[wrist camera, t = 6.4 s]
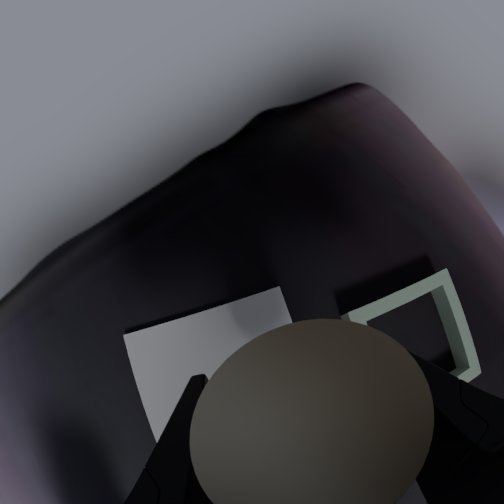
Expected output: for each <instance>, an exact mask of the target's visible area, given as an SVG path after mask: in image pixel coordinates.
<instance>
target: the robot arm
mask: <svg viewBox="0 0 504 504" xmlns="http://www.w3.org/2000/svg"><path fill="white" fill-rule="evenodd" d="M407 351H408V350H407ZM408 352H409V354H410V355H411V356H412V357H413V358H414V359H415V361H416V362H417V364H418V365H419V367H420V368H421V370H422V371H423V374H424V376H425V378H426V380H427V382H428V385H429V388H430V392H431V395H432V400H433V407H434V428H433V436H432V441H431V445H430V448H429V452H428V455H427V457H426V460H425V462H424V464H423V467H422V468H421V470H420V472H419V474H418V476H417V477H416V481H417V483H418V485H419V487H420V489H421V491H422V493H423V495H424V497H425V499H426V501H427V503H428V504H504V399H502V398H500V397H497V396H495V395H493V394H490V393H488V392H485V391H483V390H481V389H479V388H477V387H475V386H473V385H471V384H469V383H467V382H465V381H464V380H462V379H460V380H459V378H458V377H456V376H454V375H452V374H450V373H449V372H447V371H445V370H443V369H441V368H439V367H438V366H436V365H434V364H432V363H430V362H428V361H426V360H425V359H423V358H421V357H419V356H417V355H415V354H414V353H412V352H410V351H408ZM208 381H209V380H208V378H207V376H206V375H205V374H198V375H193V376H192V377H191V378H190V380H189V382H188V383H187V385H186V387H185V389H184V391H183V393H182V395H181V397H180V399H179V401H178V403H177V405H176V407H175V409H174V411H173V413H172V415H171V417H170V419H169V421H168V423H167V424H166V426H165V428H164V430H163V432H162V434H161V436H160V438H159V440H158V442H157V444H156V446H155V448H154V450H153V452H152V454H151V456H150V458H149V460H148V462H147V463H146V465H145V468H144V469H143V471H142V473H141V475H140V477H139V479H138V481H137V482H136V484H135V486H134V488H133V489H132V491H131V493H130V494H129V496H128V497H127V499H126V501H125V502H124V504H213V503H212V501H211V500H210V499H209V498H208V496H207V495H206V493H205V492H204V490H203V489H202V487H201V485H200V483H199V481H198V479H197V476H196V474H195V471H194V467H193V464H192V460H191V453H190V428H191V422H192V417H193V413H194V410H195V407H196V405H197V402H198V399H199V397H200V395H201V393H202V391H203V389H204V387H205V386H206V384H207V382H208Z"/></svg>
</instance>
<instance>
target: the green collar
mask: <svg viewBox="0 0 504 504" xmlns="http://www.w3.org/2000/svg"><path fill="white" fill-rule="evenodd" d="M429 291H431V294H432V296H433V299H434V301H435V304H436V307H437V310H438V312H439V315H440V318H441V321H442V324H443V327H444V330H445V333H446V336H447V339H448V342H449V345H450V348H451V352H452V355H453V358H454V362H455V365H456V369H454V370H452V371H451V372H449V373H450V374H452V375H454V376H456V377H458V378H459V380H460V379H462V380H464V381H465V382H467V383H468V382H469V381H471V380H472V379H474V378H475V377H476V376H478V375H479V374H480V373H481V369H480V366H479V362H478V358H477V354H476V351H475V347H474V344H473V340H472V337H471V334H470V331H469V328H468V324H467V321H466V318H465V315H464V313H463V310H462V307H461V304H460V301H459V298H458V296H457V293H456V290H455V288H454V285H453V283H452V280H451V278H450V275H449V273H448V270H447V268H446V269H444V270H442V271H440V272H438V273H436V274H434V275H432V276H430V277H428V278H426V279H423V280H421V281H419V282H417V283H415V284H413V285H411V286H409V287H406V288H404V289H402V290H400V291H398V292H395V293H393V294H391V295H389V296H386V297H384V298H382V299H379V300H377V301H375V302H372V303H370V304H368V305H365V306H363V307H361V308H358V309H356V310H353V311H351V312H348V313H346V314H344V315H342V316H340V317H341V319H342V320H347V321H353V322H357V323H360V324H364V325H367V323H366V321H367V320H370V319H372V318H374V317H376V316H379V315H381V314H383V313H385V312H388V311H390V310H392V309H394V308H396V307H398V306H401V305H403V304H405V303H407V302H409V301H411V300H413V299H415V298H417V297H419V296H421V295H423V294H425V293H427V292H429ZM367 326H368V325H367Z"/></svg>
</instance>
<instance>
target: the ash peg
mask: <svg viewBox="0 0 504 504" xmlns="http://www.w3.org/2000/svg"><path fill="white" fill-rule="evenodd" d="M433 428H434V407H433V400H432V395H431V392H430V388H429V385H428V382H427V380H426V378H425V376H424V374H423V371H422V370H421V368H420V367H419V365H418V364H417V362H416V361H415V359H414V358H413V357H412V356H411V355H410V354H409V352H408V351H407V350H406V349H405V348H404V347H403V346H401V345H400V344H399V343H398V342H397V341H395V340H394V339H393V338H391V337H389V336H388V335H386V334H384V333H383V332H381V331H379V330H376V329H374V328H372V327H370V326H367V325H364V324H360V323H357V322H353V321H347V320H340V319H313V320H303V321H299V322H295V323H290V324H286V325H283V326H281V327H278V328H275V329H272V330H270V331H268V332H266V333H264V334H262V335H260V336H258V337H256V338H254V339H252V340H251V341H249V342H248V343H246V344H245V345H243V346H242V347H240V348H239V349H238V350H237V351H235V352H234V353H233V354H232V355H231V356H230V357H228V358H227V359H226V360H225V361H224V362H223V364H222V365H221V366H220V367H219V368H218V369H217V370H216V371H215V373H214V374H213V375H212V377H211V378H210V380H209V381H208V382H207V384H206V386H205V387H204V389H203V391H202V393H201V395H200V397H199V399H198V402H197V405H196V407H195V410H194V413H193V417H192V422H191V428H190V453H191V460H192V464H193V467H194V471H195V474H196V476H197V479H198V481H199V483H200V485H201V487H202V489H203V490H204V492H205V493H206V495H207V496H208V498H209V499H210V500H211V501H212V503H213V504H395V503H396V502H397V501H398V500H399V499H400V498H401V497H402V496H403V495H404V493H405V492H406V491H407V490H408V489H409V487H410V486H411V485H412V483H413V482H414V480H415V479H416V477H417V476H418V474H419V472H420V470H421V468H422V467H423V464H424V462H425V460H426V457H427V455H428V452H429V448H430V445H431V441H432V436H433Z"/></svg>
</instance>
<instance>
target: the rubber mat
mask: <svg viewBox="0 0 504 504" xmlns="http://www.w3.org/2000/svg"><path fill="white" fill-rule="evenodd" d="M290 323H292V320H291V317H290V314H289V312H288V309H287V306H286V303H285V301H284V298H283V295H282V292H281V289H280V287H276V288H273V289H270V290H267V291H264V292H261V293H258V294H255V295H252V296H249V297H246V298H243V299H240V300H237V301H234V302H231V303H227V304H224V305H221V306H218V307H215V308H212V309H209V310H205V311H202V312H199V313H196V314H193V315H189V316H186V317H183V318H180V319H176V320H173V321H170V322H166V323H163V324H160V325H156V326H153V327H149V328H146V329H143V330H139V331H136V332H132V333H129V334H125V335H123V336H124V340H125V344H126V348H127V352H128V356H129V359H130V363H131V366H132V370H133V373H134V377H135V380H136V383H137V387H138V390H139V393H140V396H141V399H142V403H143V406H144V409H145V412H146V414H147V417H148V420H149V423H150V426H151V429H152V431H153V434H154V437H155V439H156V442H158V440H159V438H160V436H161V434H162V432H163V430H164V428H165V426H166V424H167V423H168V421H169V419H170V417H171V415H172V413H173V411H174V409H175V407H176V405H177V403H178V401H179V399H180V397H181V395H182V393H183V391H184V389H185V387H186V385H187V383H188V382H189V380H190V378H191V377H192V376H193V375H198V374H205V375H206V376H207V378H208V380H210V378H211V377H212V375H213V374H214V373H215V371H216V370H217V369H218V368H219V367H220V366H221V365H222V364H223V362H224V361H225V360H226V359H227V358H228V357H230V356H231V355H232V354H233V353H234V352H235V351H237V350H238V349H239V348H240V347H242V346H243V345H245V344H246V343H248V342H249V341H251V340H252V339H254V338H256V337H258V336H260V335H262V334H264V333H266V332H268V331H270V330H272V329H275V328H278V327H281V326H283V325H286V324H290Z"/></svg>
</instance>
